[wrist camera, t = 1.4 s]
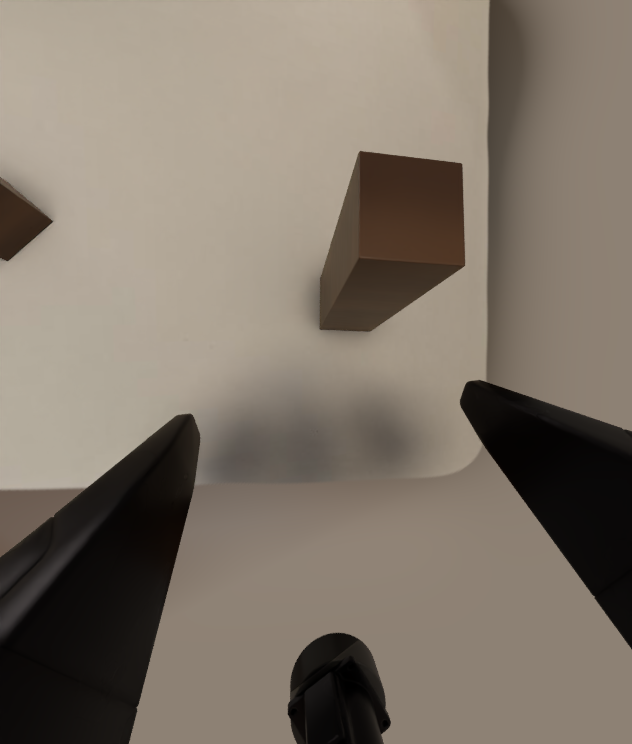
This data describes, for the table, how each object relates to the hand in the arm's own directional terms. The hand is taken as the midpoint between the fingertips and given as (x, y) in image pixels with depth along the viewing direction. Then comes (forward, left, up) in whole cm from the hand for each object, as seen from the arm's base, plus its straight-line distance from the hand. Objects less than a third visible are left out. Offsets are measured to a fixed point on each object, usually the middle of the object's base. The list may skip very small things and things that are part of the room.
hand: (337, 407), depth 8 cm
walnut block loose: (+5, -7, -13) cm, 16 cm away
